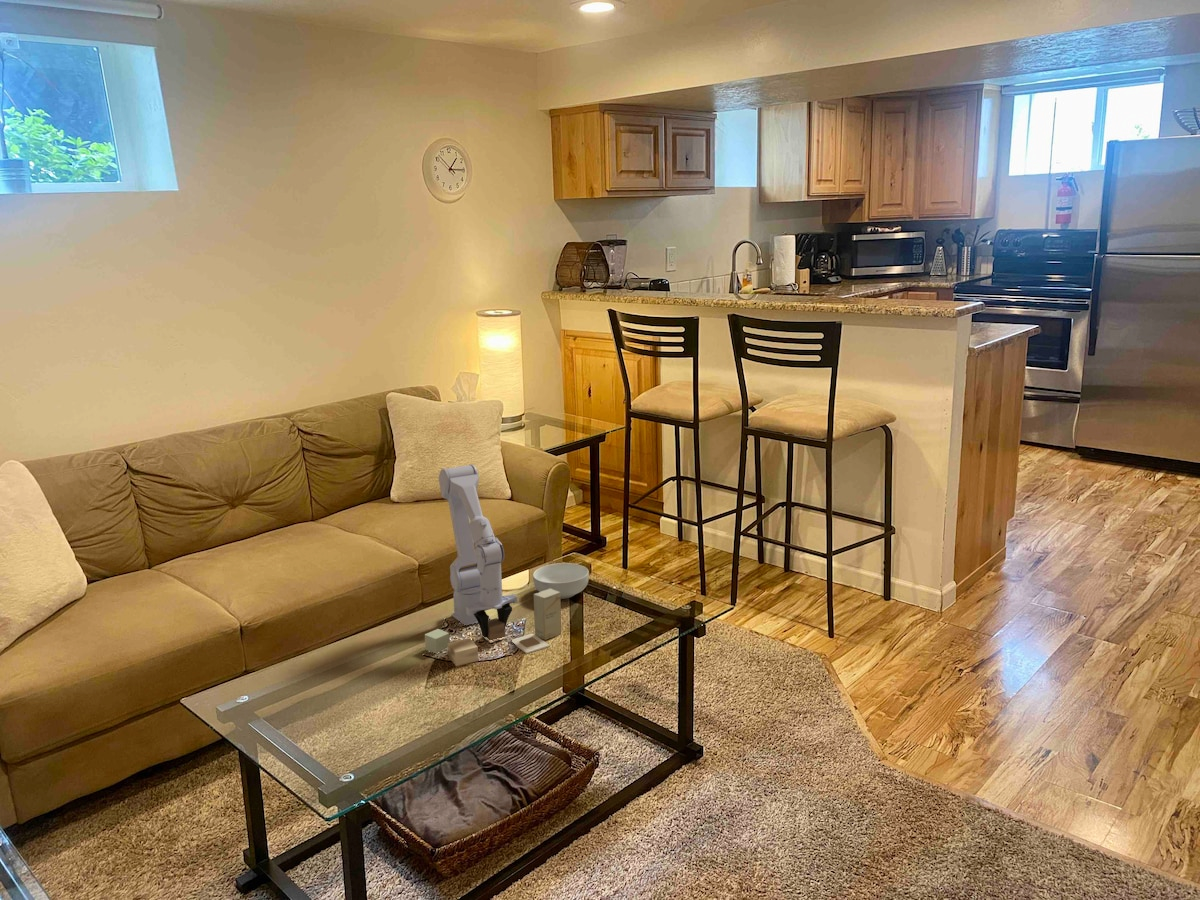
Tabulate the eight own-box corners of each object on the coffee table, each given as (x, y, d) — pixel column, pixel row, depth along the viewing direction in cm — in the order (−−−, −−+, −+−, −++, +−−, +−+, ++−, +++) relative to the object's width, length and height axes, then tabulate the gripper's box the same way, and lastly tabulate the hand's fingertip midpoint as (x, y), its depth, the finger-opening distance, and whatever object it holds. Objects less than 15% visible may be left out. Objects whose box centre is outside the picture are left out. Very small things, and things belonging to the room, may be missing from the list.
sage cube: (425, 650, 234) (424, 634, 233) (439, 644, 237) (438, 628, 236) (436, 655, 231) (435, 639, 230) (450, 648, 234) (449, 633, 233)
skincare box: (544, 640, 237) (543, 598, 235) (534, 635, 241) (532, 594, 238) (562, 633, 242) (561, 591, 239) (551, 628, 245) (550, 587, 242)
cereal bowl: (567, 579, 280) (566, 558, 279) (600, 594, 268) (600, 572, 266) (522, 593, 270) (521, 571, 268) (555, 610, 257) (554, 587, 256)
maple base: (448, 657, 230) (447, 643, 229) (470, 652, 232) (469, 638, 231) (456, 666, 224) (455, 652, 223) (478, 661, 227) (477, 646, 226)
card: (510, 641, 237) (509, 639, 237) (532, 634, 241) (532, 632, 241) (526, 653, 230) (526, 651, 230) (549, 646, 234) (549, 644, 234)
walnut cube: (482, 637, 240) (481, 622, 239) (497, 633, 243) (496, 617, 242) (490, 643, 237) (489, 627, 236) (505, 638, 239) (504, 623, 238)
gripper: (473, 597, 229) (476, 645, 232) (522, 584, 237) (524, 631, 240) (461, 589, 235) (464, 636, 238) (509, 576, 243) (511, 622, 246)
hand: (493, 633), depth 239 cm, fingers closed on walnut cube, 4 cm apart
